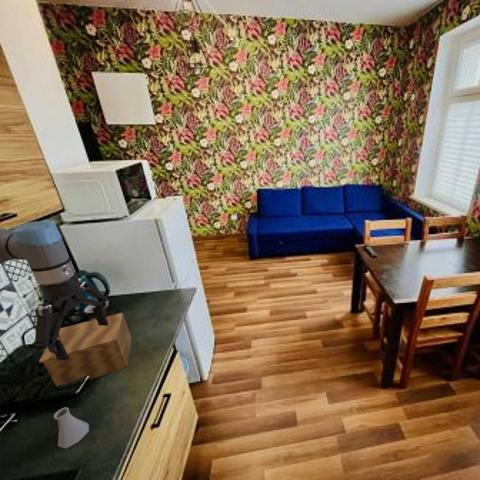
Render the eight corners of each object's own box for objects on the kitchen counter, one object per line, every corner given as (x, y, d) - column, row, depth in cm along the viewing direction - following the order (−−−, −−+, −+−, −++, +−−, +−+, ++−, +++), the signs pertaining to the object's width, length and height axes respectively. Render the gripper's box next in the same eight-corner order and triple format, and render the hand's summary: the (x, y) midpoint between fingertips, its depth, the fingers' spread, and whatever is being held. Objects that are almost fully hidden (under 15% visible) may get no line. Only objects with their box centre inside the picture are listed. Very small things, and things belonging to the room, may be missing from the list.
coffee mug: (86, 329, 120) (79, 311, 116) (105, 317, 128) (98, 299, 124) (107, 333, 117) (100, 315, 114) (124, 320, 125) (118, 303, 121)
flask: (83, 418, 83) (72, 396, 79) (94, 430, 80) (82, 408, 76) (53, 439, 77) (39, 417, 74) (63, 454, 74) (49, 431, 70)
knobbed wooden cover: (39, 363, 87) (31, 348, 84) (56, 331, 100) (50, 317, 98) (116, 340, 96) (111, 326, 93) (122, 314, 110) (118, 301, 107)
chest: (58, 390, 92) (43, 362, 87) (72, 356, 106) (59, 330, 101) (127, 367, 101) (116, 341, 96) (131, 338, 115) (122, 314, 110)
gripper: (19, 308, 59) (55, 377, 67) (108, 258, 82) (127, 313, 90) (-12, 307, 59) (28, 375, 68) (85, 257, 82) (107, 312, 91)
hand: (85, 340), depth 79 cm, fingers open, 13 cm apart
